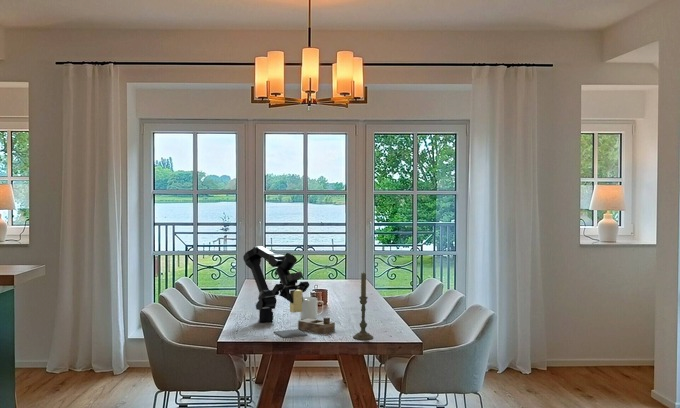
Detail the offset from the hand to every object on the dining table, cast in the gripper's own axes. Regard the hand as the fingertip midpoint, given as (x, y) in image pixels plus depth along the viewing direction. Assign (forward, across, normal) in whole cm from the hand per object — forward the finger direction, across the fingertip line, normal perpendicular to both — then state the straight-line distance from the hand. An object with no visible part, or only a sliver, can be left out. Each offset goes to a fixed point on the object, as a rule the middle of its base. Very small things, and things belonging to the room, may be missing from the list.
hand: (297, 302), depth 290 cm
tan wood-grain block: (+2, 0, +4) cm, 5 cm away
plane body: (+12, +9, +7) cm, 16 cm away
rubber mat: (+12, -7, +7) cm, 16 cm away
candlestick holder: (+30, +16, -12) cm, 36 cm away
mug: (-2, +22, +23) cm, 31 cm away
